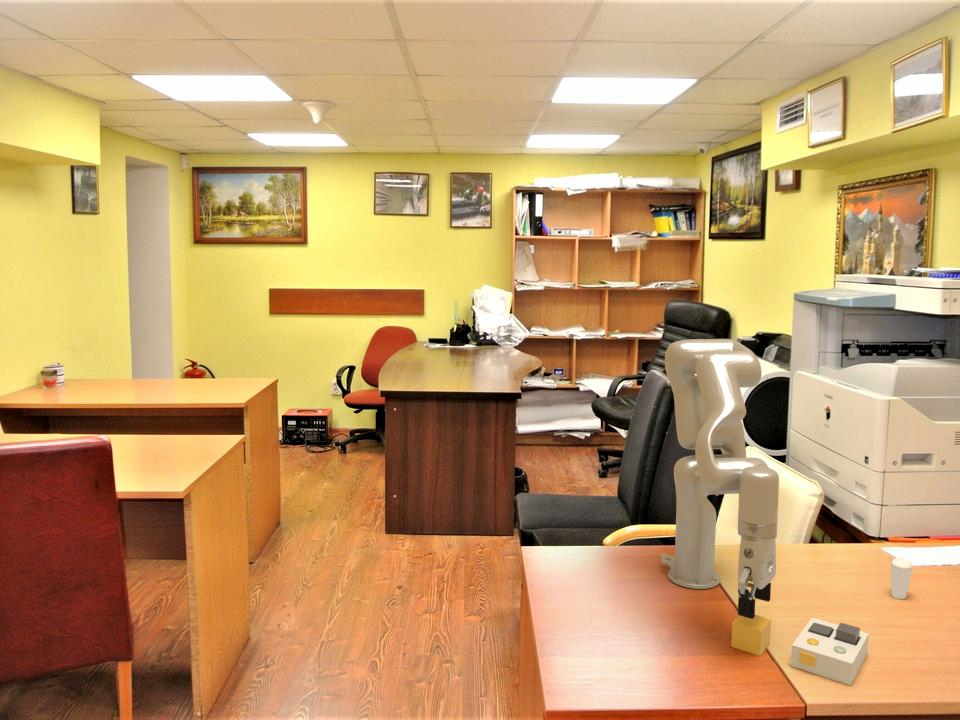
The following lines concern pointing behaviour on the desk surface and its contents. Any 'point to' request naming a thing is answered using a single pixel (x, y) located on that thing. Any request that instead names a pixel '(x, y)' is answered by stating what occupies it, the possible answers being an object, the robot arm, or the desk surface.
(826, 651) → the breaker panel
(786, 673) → the desk surface
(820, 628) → the button
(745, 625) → the cap
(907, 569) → the milkshake
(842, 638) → the block
